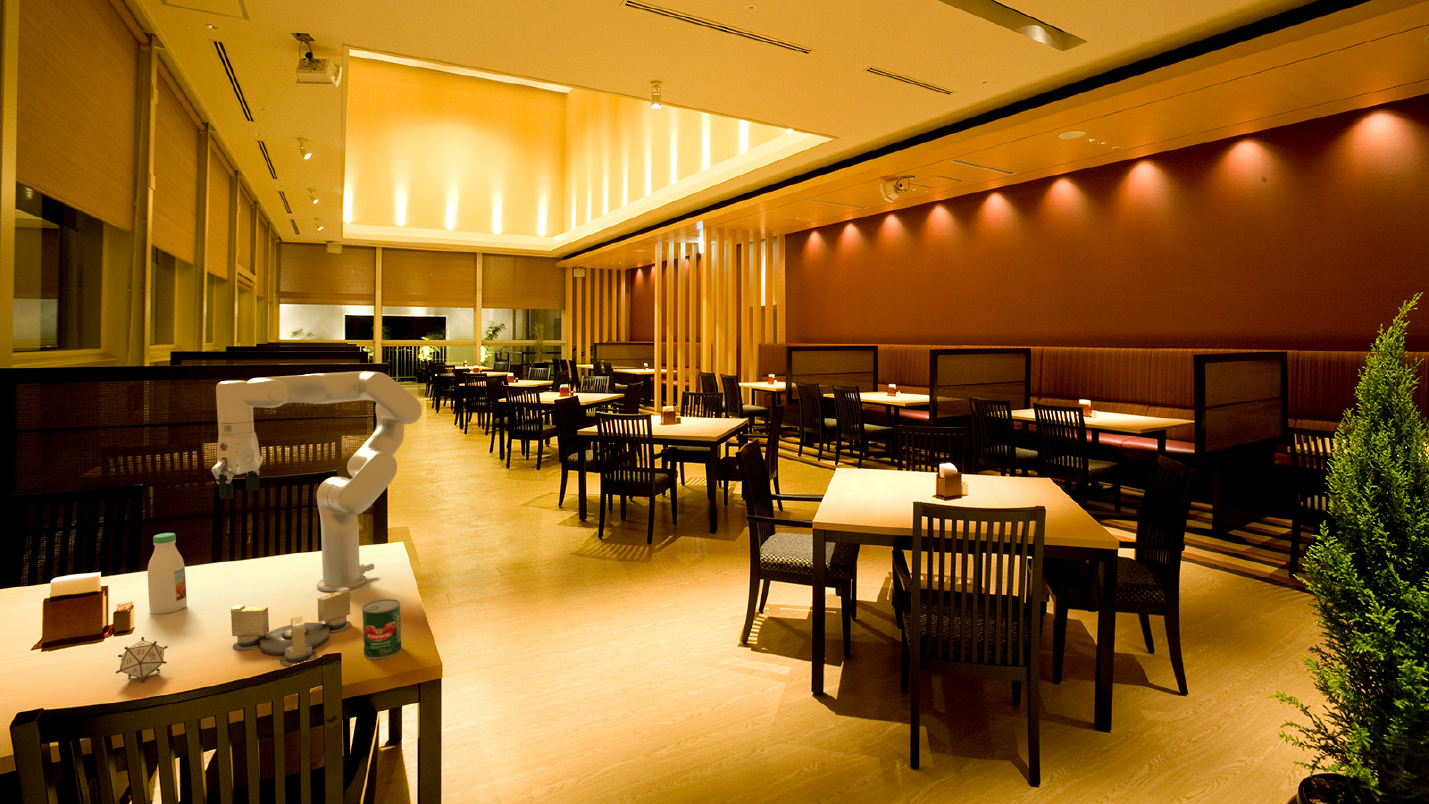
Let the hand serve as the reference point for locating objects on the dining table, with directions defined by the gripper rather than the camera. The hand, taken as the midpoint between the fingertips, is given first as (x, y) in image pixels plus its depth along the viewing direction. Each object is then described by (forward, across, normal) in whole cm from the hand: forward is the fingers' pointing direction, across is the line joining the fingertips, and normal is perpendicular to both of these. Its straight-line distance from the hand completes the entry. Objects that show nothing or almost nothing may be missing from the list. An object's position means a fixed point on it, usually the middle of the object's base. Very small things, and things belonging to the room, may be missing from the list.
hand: (240, 494), depth 180 cm
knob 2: (+31, -27, -31) cm, 51 cm away
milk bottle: (+31, 0, +20) cm, 37 cm away
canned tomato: (+31, -23, -47) cm, 61 cm away
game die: (+31, -37, -4) cm, 48 cm away
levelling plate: (+31, -17, -26) cm, 44 cm away
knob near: (+31, -10, -29) cm, 44 cm away
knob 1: (+31, -20, -15) cm, 40 cm away
